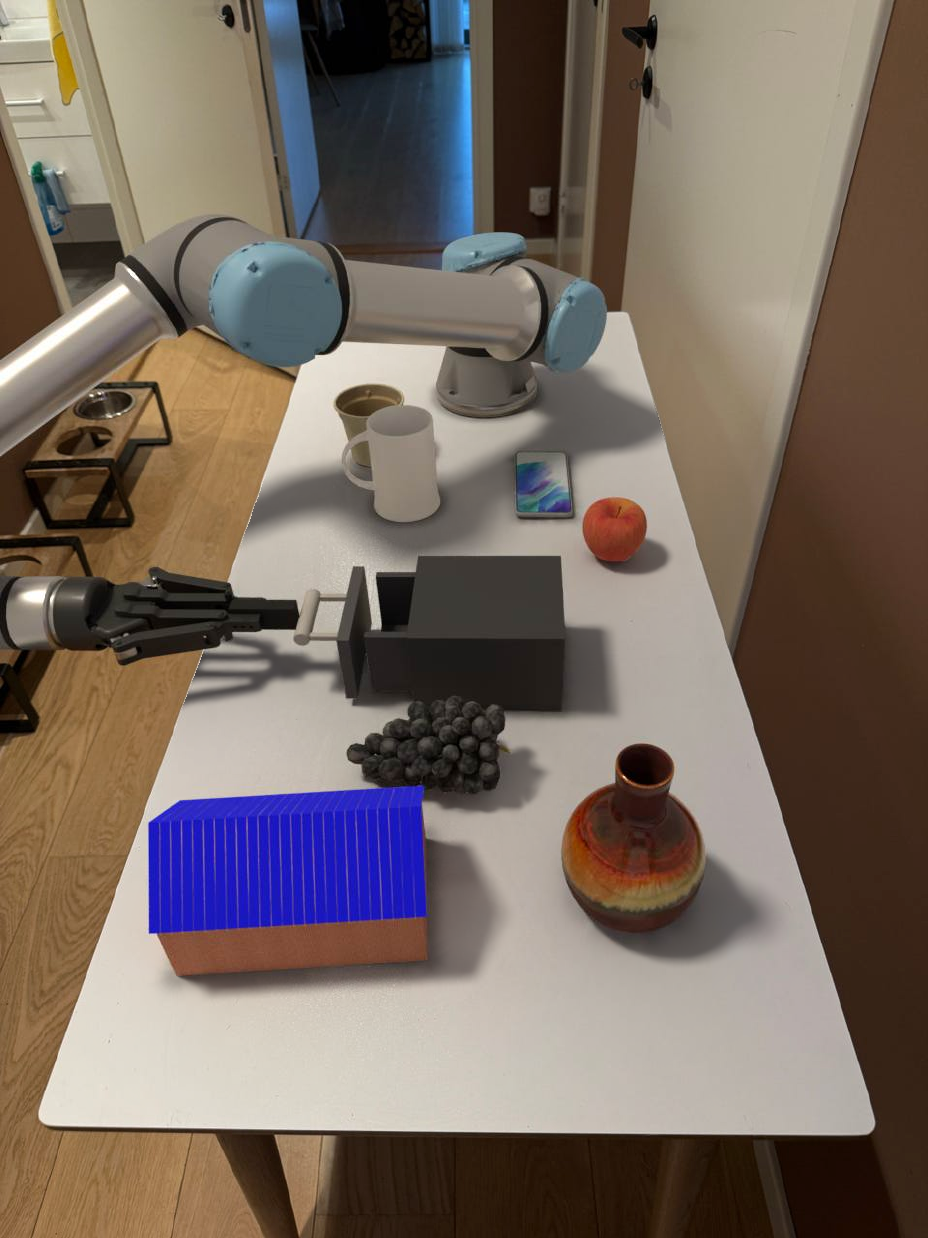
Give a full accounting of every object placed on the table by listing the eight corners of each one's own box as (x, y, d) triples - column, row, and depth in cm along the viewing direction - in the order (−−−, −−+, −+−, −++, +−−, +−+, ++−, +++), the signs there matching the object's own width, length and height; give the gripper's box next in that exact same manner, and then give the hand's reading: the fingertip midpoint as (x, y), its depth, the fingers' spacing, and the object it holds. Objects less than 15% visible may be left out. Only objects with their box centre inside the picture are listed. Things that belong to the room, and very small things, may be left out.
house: (198, 848, 80) (164, 759, 72) (429, 834, 80) (420, 744, 72) (171, 980, 71) (129, 894, 63) (432, 964, 71) (422, 876, 63)
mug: (346, 525, 116) (333, 440, 108) (351, 487, 122) (340, 405, 115) (439, 521, 116) (434, 436, 108) (440, 484, 122) (435, 402, 114)
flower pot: (406, 473, 125) (400, 416, 119) (336, 474, 125) (328, 417, 119) (411, 438, 132) (406, 382, 126) (345, 439, 132) (338, 383, 126)
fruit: (331, 722, 78) (509, 723, 77) (350, 679, 86) (512, 679, 84) (340, 809, 81) (511, 811, 80) (357, 760, 89) (514, 761, 88)
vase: (602, 973, 70) (617, 852, 60) (536, 860, 78) (539, 736, 68) (725, 918, 73) (758, 794, 63) (649, 814, 81) (668, 689, 71)
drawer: (298, 698, 92) (285, 640, 87) (317, 622, 100) (306, 565, 95) (482, 699, 91) (480, 641, 86) (485, 623, 99) (483, 566, 94)
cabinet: (413, 710, 91) (406, 637, 85) (423, 625, 101) (417, 555, 95) (561, 711, 90) (565, 638, 84) (558, 626, 100) (561, 555, 94)
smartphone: (567, 450, 126) (573, 513, 114) (566, 456, 126) (572, 519, 115) (514, 450, 126) (514, 512, 115) (513, 456, 127) (514, 518, 115)
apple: (629, 533, 112) (635, 477, 107) (653, 568, 107) (660, 511, 102) (572, 543, 111) (575, 487, 106) (593, 579, 106) (597, 522, 101)
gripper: (100, 601, 101) (313, 601, 100) (54, 685, 91) (290, 687, 90) (79, 545, 96) (303, 545, 95) (28, 628, 86) (277, 630, 85)
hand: (296, 614), depth 92 cm, fingers closed
